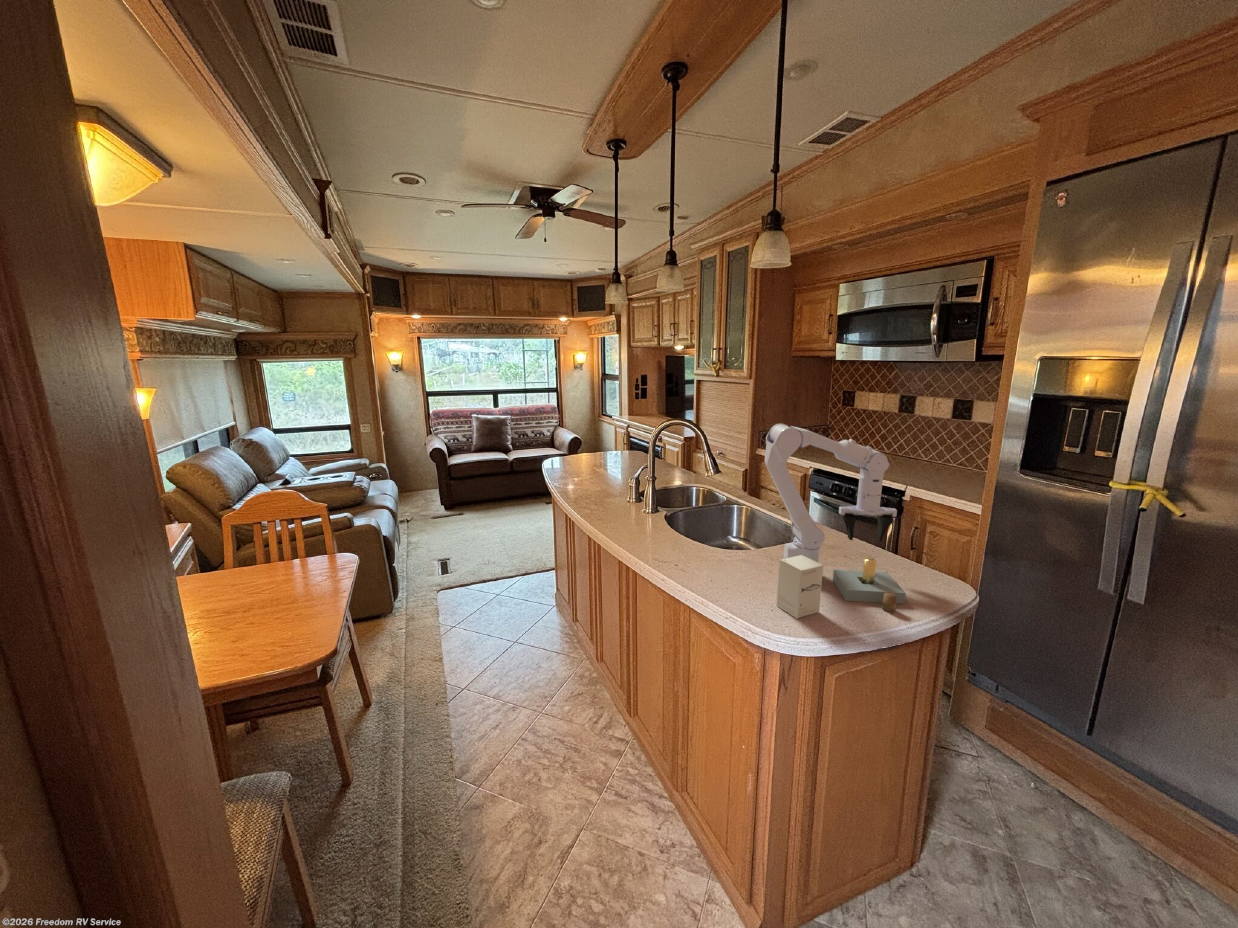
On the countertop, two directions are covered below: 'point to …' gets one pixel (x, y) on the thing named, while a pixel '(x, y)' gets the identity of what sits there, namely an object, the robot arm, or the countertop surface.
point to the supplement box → (799, 586)
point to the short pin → (889, 602)
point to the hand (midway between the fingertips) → (864, 539)
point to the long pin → (868, 571)
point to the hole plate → (867, 586)
